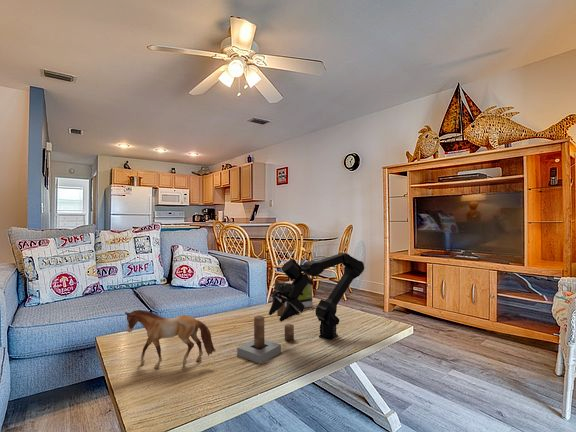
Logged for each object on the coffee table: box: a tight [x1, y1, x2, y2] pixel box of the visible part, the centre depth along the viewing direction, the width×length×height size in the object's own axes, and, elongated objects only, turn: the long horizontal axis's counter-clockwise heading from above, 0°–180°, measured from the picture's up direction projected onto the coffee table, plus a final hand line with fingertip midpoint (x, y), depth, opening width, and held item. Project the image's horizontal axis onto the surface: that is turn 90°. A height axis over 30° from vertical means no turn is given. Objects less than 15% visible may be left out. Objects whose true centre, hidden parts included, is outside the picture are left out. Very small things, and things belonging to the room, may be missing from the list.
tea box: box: [284, 280, 313, 308], centre depth 182 cm, size 15×10×15 cm, turn 115°
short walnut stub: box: [284, 323, 295, 342], centre depth 132 cm, size 4×4×6 cm
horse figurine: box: [124, 309, 217, 369], centre depth 109 cm, size 31×8×21 cm, turn 96°
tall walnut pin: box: [253, 315, 265, 350], centre depth 118 cm, size 4×4×14 cm
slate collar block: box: [236, 339, 282, 365], centre depth 118 cm, size 12×12×3 cm
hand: (274, 317), depth 121 cm, fingers open, 9 cm apart
